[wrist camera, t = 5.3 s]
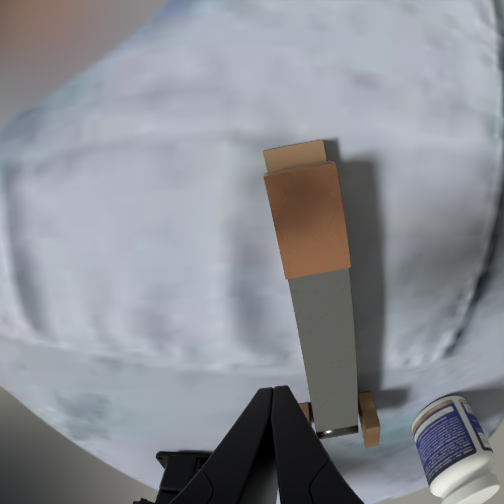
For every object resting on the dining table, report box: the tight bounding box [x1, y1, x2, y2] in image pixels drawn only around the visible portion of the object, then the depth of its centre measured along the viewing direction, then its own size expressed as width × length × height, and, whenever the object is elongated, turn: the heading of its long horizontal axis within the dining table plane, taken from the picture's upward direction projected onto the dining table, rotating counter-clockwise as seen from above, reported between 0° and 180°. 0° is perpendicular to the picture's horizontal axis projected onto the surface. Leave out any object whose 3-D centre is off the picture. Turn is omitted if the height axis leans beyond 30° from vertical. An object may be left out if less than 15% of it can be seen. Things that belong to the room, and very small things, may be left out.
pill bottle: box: [412, 396, 500, 504], centre depth 18 cm, size 6×6×10 cm
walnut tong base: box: [263, 140, 380, 448], centre depth 18 cm, size 20×6×4 cm, turn 13°
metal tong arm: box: [264, 160, 358, 439], centre depth 17 cm, size 19×3×1 cm, turn 13°
